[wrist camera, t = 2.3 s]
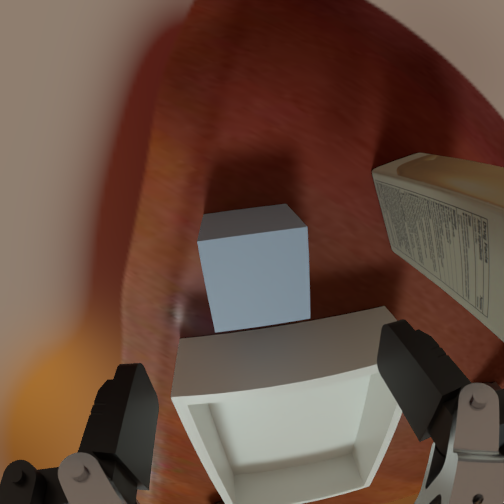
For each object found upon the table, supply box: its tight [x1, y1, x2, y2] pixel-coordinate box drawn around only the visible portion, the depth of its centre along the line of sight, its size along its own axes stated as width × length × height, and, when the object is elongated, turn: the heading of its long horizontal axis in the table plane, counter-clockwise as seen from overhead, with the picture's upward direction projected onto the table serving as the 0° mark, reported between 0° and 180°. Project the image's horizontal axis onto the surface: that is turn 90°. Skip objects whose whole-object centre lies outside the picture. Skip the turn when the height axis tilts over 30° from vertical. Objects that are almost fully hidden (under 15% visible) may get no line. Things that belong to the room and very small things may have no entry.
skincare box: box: [372, 153, 504, 342], centre depth 13 cm, size 6×4×12 cm
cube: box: [197, 204, 310, 332], centre depth 17 cm, size 5×5×5 cm
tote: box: [171, 306, 402, 504], centre depth 23 cm, size 16×22×6 cm
